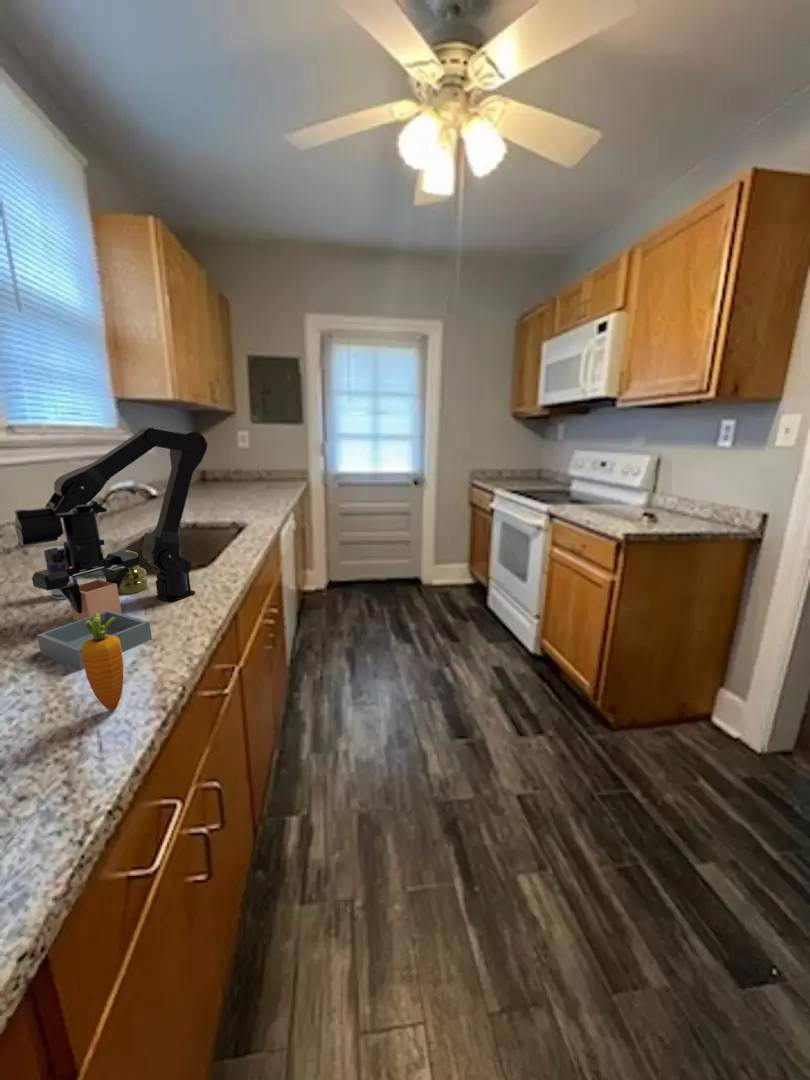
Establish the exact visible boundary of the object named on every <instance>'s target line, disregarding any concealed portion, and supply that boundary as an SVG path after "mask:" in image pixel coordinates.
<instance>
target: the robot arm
mask: <svg viewBox="0 0 810 1080" xmlns="http://www.w3.org/2000/svg"><path fill="white" fill-rule="evenodd" d="M155 447H157V448H161V449H167V450H169V459H170V464H171V466H170V467H171V468H170V473H169V477H168V480H167V484H166V489H165V493H164V496H163V500H162V505H161V509H160V512H159V516H158V517H159V518H158V520H157V525H156V527H155V528H154V530H153V531H152V532H151V533H149V532H144V535H143V543H142V545H141V547H140V548H139V550H141V551H142V553H141V554H142V558H143V559H144V561H145V562H146V563H148V564H149V565H151V566H152V567H153V569H154V570H155V571H158V572H156V580H155V586H156V592H157V594H155V595H154V596H155V598H156V599H160V600H164V601H167V602H172V603H173V602H176V601H178V600H181V599H183V598H187V597H189V596H191V595H194V594H196V590H192V588H191V582H190V572H191V567H192V562H189V561H188V560H187V559H185V558H183V557H182V556H180V555H181V542H180V541H181V540H180V534H179V530H180V526H181V522H182V518H183V515H184V510H185V506H186V501H187V498H188V495H189V491H190V486H191V482H192V478H193V474H194V472H195V471H196V469H198V467H199V465H200V464H201V463H202V461H203V459H204V457H205V454H206V452H207V449H208V442H207V440H206V438H205V436H203V434H201V433H200V432H197V431H182V430H181V431H178V432H174V431H168V430H162V429H159V428H157V427H143V428H140V429H139V430H138V432H137V433H135V434H134V435H132V436H130V437H129V438H128V439H126V440H124V441H123V442H122V443H121V444H118V445H117V446H116V447H114V448H113V449H111V450H110V451H108V452H107V453H106V454H104V455H102V456H101V457H99V458H98V459H97V460H95V461H93V462H91V463H89V464H87V465H84V466H81V467H79V468H76V469H74V470H72V471H69V472H67V473H65V474H64V473H63V474H62V475H61V476H59V477H58V478H56V479H55V481H54V483H53V484H54V485H53V490H54V492H53V493H52V495H51V497H50V498H49V500H48V501H47V502H46V504H45V507H42V508H41V507H40V508H33V509H18V510H14V514H15V526H14V529H15V533H16V537H17V539H18V542H19V544H20V545H21V546H20V547H25V546H31V545H39V544H43V543H49V542H50V543H51V542H57V541H58V539H59V538H60V537H62V535H63V534H64V533H65V537H66V541H63V545H64V550H60V551H59V550H58V549H57V548H52V549H47V550H45V557H44V559H45V558H46V561H47V563H48V565H53V564H58V566H59V568H62V567H65V566H66V567H70V566H71V567H72V568H71V569H67V570H60V569H57V568H51V569H47V568H46V569H43V570H39V571H36V572H34V573H33V575H32V578H31V581H32V585H33V587H34V588H39V589H42V590H44V591H51V590H53V589H59V590H60V591H61V592H62V593H63V594H64V595H65V596H66V598H67V599H66V600H67V601H69V604H70V603H71V605H72V606H73V608H74V609H75V610H76V612H77V613H82V605H81V598H80V591H79V585H80V584H79V583H78V584H76V583H74V582H73V578H74V577H80V576H84V575H87V574H92V573H95V572H99V571H101V572H102V574H103V575H104V577H105V581H108V582H112V583H115V584H117V588H118V590H119V587H120V584H121V582H122V580H123V578H124V576H125V574H126V572H129V569H128V568H130V567H134V566H139V565H140V557H139V556H137V554H138V553H137V554H135V553H133V552H134V551H133V552H128V551H123V550H124V549H123V550H119V551H115V552H110V553H107V555H106V557H104V554H103V549H102V548H103V547H102V546H104V545H105V539H101V537H100V530H99V525H98V520H97V514H100V513H106V512H107V511H108V509H107V508H106V507H104V506H103V505H100V504H99V503H98V501H96V500H94V498H95V497H96V496H97V495H98V494H99V493H100V492H101V491H102V490H103V488H104V487H105V485H106V484H107V483H108V482H109V480H110V479H111V478H113V477H114V476H115V475H117V474H119V472H121V471H122V470H124V469H125V468H127V467H128V466H130V465H131V464H133V463H134V462H135V461H137V460H138V459H139V458H141V457H143V455H146V453H149V452H150V451H151V450H152V449H154V448H155ZM61 519H62V520H61ZM62 523H63V524H62ZM71 605H70V606H71Z"/></svg>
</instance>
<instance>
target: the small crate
mask: <svg viewBox="0 0 810 1080" xmlns="http://www.w3.org/2000/svg"><path fill="white" fill-rule="evenodd" d="M79 591H80V598H81V605H82V613H77V612H76V610H75V609H74V608H73V606H72V605H71V603H70V602H69V604H70V609H71V613H72V614H71V615H72V618H73V621H78V620H81V619H84V618H87V617H90V616H93V615H94V614H96V613H101V612H104V611H107V610H111V611H114V612H118V613H121V614H123V612H122V607H121V606H122V605H121V600H120V594H118V588H117V584H115V583H112V582H108V581H106V580H103V579H100V578H99V579H96V580H92V581H88V582H84V583H82V584H79Z"/></svg>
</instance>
